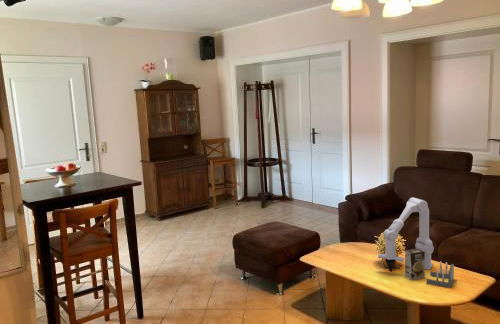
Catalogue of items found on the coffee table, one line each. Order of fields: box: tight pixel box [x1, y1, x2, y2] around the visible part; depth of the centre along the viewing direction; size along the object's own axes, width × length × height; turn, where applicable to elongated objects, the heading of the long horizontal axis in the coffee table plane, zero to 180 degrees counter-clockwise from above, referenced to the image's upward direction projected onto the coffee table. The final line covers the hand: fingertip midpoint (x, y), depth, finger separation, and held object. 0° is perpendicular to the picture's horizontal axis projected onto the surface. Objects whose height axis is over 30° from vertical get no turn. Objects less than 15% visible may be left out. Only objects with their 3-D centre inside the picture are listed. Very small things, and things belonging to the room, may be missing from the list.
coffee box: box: [404, 248, 426, 281], centre depth 235 cm, size 9×6×16 cm
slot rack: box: [426, 261, 455, 289], centre depth 228 cm, size 13×12×10 cm
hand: (390, 270), depth 243 cm, fingers closed
